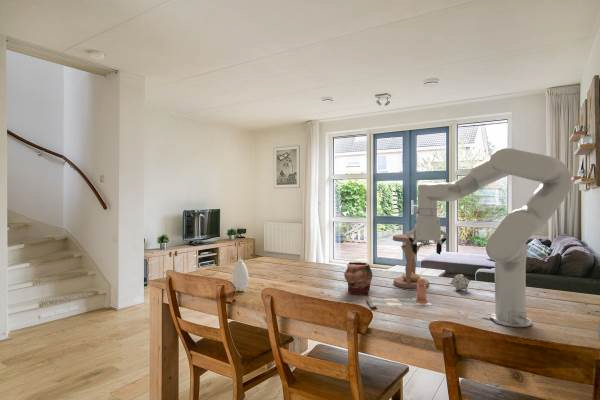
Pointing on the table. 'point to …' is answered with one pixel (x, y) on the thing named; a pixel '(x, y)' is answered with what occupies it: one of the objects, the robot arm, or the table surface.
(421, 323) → the table surface
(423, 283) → the pawn
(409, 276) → the wooden pedestal stand
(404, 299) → the board
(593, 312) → the table surface
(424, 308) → the table surface
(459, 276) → the game die
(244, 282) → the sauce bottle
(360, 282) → the decorative planter
